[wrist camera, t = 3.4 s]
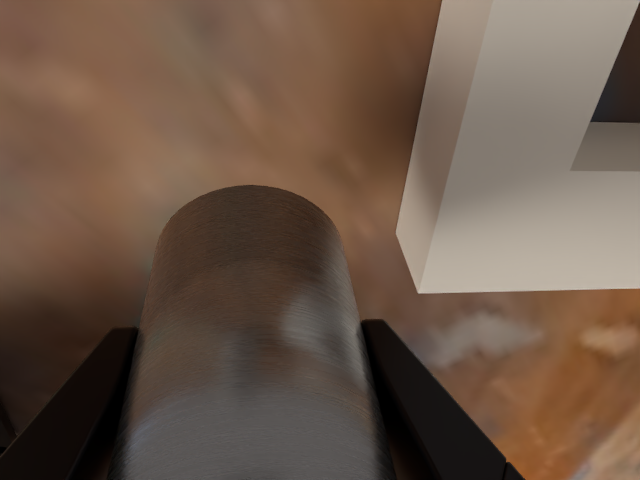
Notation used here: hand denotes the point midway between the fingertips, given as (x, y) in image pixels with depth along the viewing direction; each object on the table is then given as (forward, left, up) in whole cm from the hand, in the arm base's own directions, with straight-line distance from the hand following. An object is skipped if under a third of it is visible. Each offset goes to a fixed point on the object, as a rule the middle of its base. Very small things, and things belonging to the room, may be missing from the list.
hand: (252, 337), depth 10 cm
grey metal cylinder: (0, 0, -2) cm, 2 cm away
